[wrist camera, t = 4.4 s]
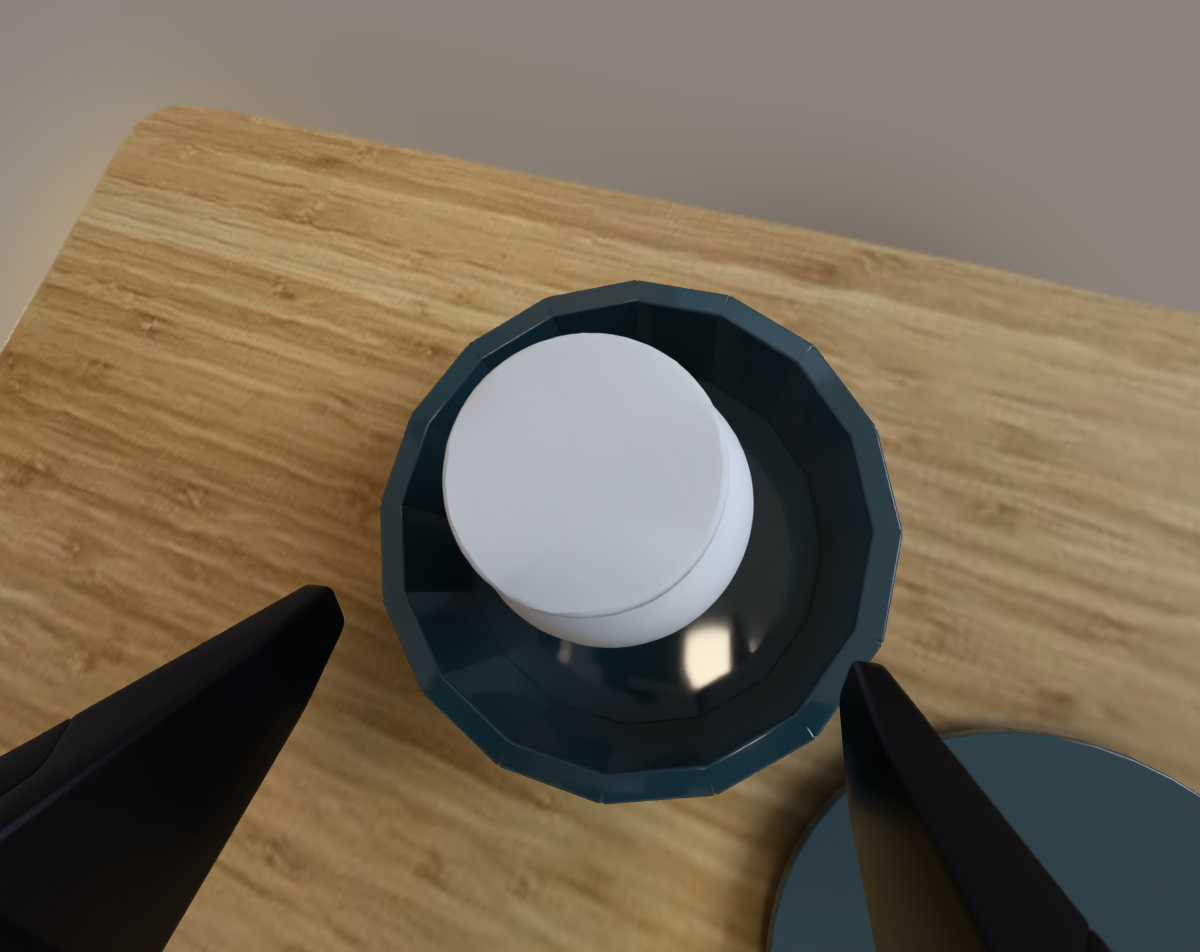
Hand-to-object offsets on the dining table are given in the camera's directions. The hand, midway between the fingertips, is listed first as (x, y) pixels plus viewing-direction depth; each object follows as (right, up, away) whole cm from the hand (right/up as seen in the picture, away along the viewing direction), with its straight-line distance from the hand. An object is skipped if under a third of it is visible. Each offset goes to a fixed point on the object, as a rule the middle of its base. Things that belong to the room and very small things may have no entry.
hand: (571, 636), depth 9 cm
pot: (+2, +1, +10) cm, 10 cm away
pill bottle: (+2, +1, +10) cm, 10 cm away
